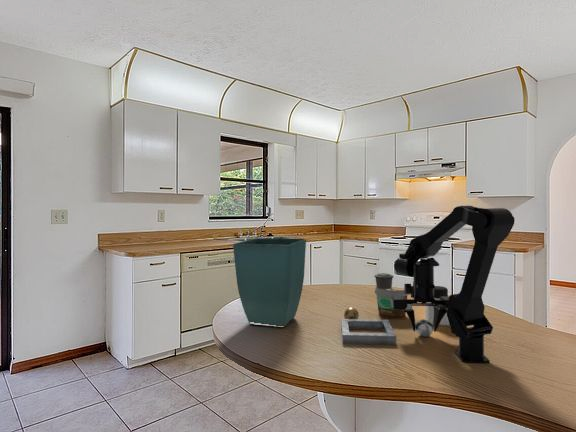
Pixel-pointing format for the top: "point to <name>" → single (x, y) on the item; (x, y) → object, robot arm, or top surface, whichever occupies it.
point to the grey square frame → (367, 338)
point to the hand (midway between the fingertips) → (424, 331)
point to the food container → (389, 303)
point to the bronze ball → (351, 313)
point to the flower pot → (270, 278)
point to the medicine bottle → (429, 310)
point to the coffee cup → (384, 281)
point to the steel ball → (424, 328)
